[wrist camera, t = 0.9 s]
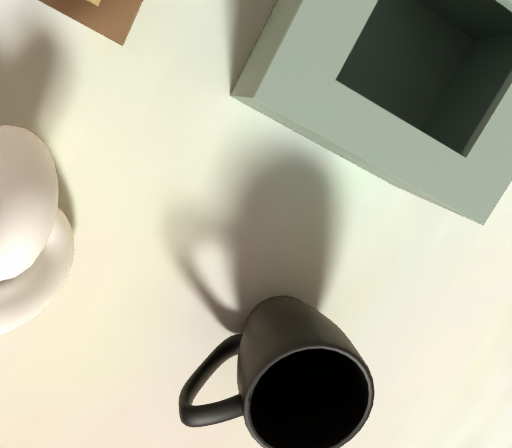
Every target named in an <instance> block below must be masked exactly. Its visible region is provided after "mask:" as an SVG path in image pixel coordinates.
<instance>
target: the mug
mask: <svg viewBox="0 0 512 448" xmlns="http://www.w3.org/2000/svg"><path fill="white" fill-rule="evenodd" d="M237 354H238V363H237V384H238V390H239V394H238V395H235V396H233V397H230V398H228V399H225V400H222V401H219V402H215V403H211V404H206V405H199V406H193V405H192V402H193V399H194V398H195V396H196V395H197V393H198V392H199V390H200V389H201V388H202V386H203V385H204V384H205V382H206V381H207V380H208V379H209V377H210V376H211V375H212V374H213V373H214V372H215V370H216V369H217V368H218V367H219V366H220V365H221V364H222V363H223V362H225V361H226V360H227V359H229V358H230V357H232V356H234V355H237ZM373 400H374V385H373V378H372V376H371V373H370V371H369V368H368V366H367V365H366V363H365V362H364V360H363V359H362V357H361V356H360V354H359V353H358V351H357V350H356V348H355V347H354V346H353V344H352V343H351V341H350V340H349V339H348V338H347V336H346V335H345V334H344V332H343V331H342V330H341V329H340V328H339V327H338V326H337V325H336V324H334V323H333V322H332V321H331V320H330V319H328V318H327V317H326V316H324V315H323V314H322V313H320V312H319V311H317V310H316V309H314V308H312V307H310V306H308V305H306V304H304V303H302V302H301V301H300V300H298V299H295V298H293V297H288V296H277V297H272V298H269V299H267V300H265V301H263V302H261V303H260V304H258V305H257V306H256V307H255V308H254V309H253V310H252V311H251V313H250V315H249V316H248V318H247V321H246V325H245V329H244V332H243V333H240V334H236V335H233V336H231V337H229V338H227V339H226V340H224V341H223V342H222V343H221V344H219V345H218V346H217V347H216V348H215V349H214V350H213V351H212V353H211V354H210V355H209V356H208V357H207V358H206V359H205V360H204V361H203V363H202V364H201V365H200V366H199V367H198V368H197V369H196V371H195V372H194V373H193V374H192V375H191V377H190V378H189V379H188V380H187V382H186V383H185V385H184V386H183V388H182V390H181V393H180V396H179V414H180V419H181V422H182V423H183V424H185V425H186V426H189V427H202V426H208V425H213V424H217V423H221V422H224V421H228V420H231V419H234V418H237V417H240V416H242V415H243V416H244V420H245V424H246V426H247V428H248V430H249V432H250V434H251V436H252V437H253V438H254V439H255V440H256V441H257V442H258V443H259V444H260V445H261V446H262V447H263V448H340V447H341V446H343V445H344V444H346V443H347V442H348V441H350V440H351V439H352V438H353V437H354V436H355V435H356V434H357V433H358V432H359V431H360V430H361V428H362V427H363V425H364V424H365V422H366V420H367V419H368V417H369V414H370V412H371V409H372V406H373Z"/></svg>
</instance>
